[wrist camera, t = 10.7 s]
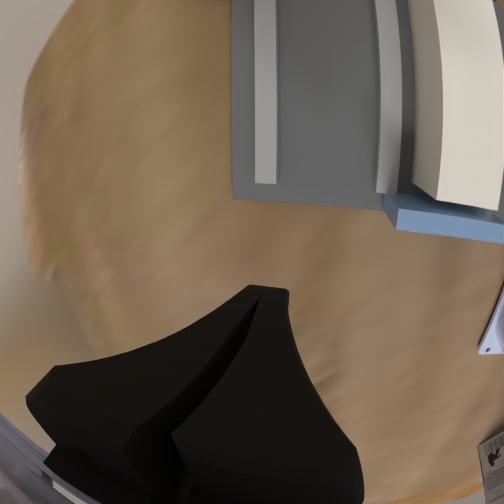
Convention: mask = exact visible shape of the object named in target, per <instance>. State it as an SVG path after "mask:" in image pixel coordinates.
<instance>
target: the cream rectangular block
mask: <svg viewBox="0 0 504 504" xmlns="http://www.w3.org/2000/svg"><path fill="white" fill-rule="evenodd" d="M407 2H408V8H409V15H410V23H411V32H412V42H413V54H414V71H415V137H414V155H413V168H412V179H411V182H412V183H413V184H415V185H416V186H418V187H419V188H421V189H422V190H423V191H425V192H426V193H427V194H429V195H430V196H432V197H433V198H434V199H436V200H439V201H446V202H452V203H458V204H464V205H470V206H475V207H481V208H486V209H491V210H497V211H498V205H499V199H500V193H501V186H502V178H503V169H504V63H503V54H502V47H501V41H500V35H499V29H498V24H497V19H496V14H495V10H494V6H493V2H492V0H407Z"/></svg>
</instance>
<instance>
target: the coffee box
mask: <svg viewBox="0 0 504 504" xmlns="http://www.w3.org/2000/svg"><path fill="white" fill-rule="evenodd" d="M477 449H478V454H479V459H480V465H481V471H482V477H483V485H484V493H485V502H486V504H504V431H502V432H501V433H499V434H497V435H496V436H494V437H492V438H491V439H489V440H487V441H485V442H484V443H482V444H480V445H478V446H477Z"/></svg>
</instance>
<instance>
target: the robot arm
mask: <svg viewBox="0 0 504 504" xmlns="http://www.w3.org/2000/svg"><path fill="white" fill-rule="evenodd" d="M288 305H289V291H288V290H287V289H283V288H275V287H266V286H258V285H248V286H247V287H245V288H244V289H243V290H241V291H240V292H239V293H237V294H236V295H235V296H233V297H232V298H231V299H229V300H228V301H227V302H225V303H224V304H222V305H221V306H220V307H218V308H217V309H215V310H214V311H212V312H211V313H209V314H207V315H206V316H204V317H203V318H201V319H199V320H198V321H196V322H194V323H193V324H191V325H190V326H188V327H186V328H184V329H182V330H180V331H178V332H176V333H174V334H172V335H170V336H168V337H166V338H164V339H161V340H159V341H156V342H154V343H151V344H148V345H146V346H143V347H140V348H137V349H135V350H132V351H129V352H126V353H122V354H118V355H115V356H111V357H107V358H103V359H98V360H93V361H88V362H81V363H74V364H67V365H58V366H54V367H53V368H52V369H51V370H50V371H49V372H48V373H47V374H46V375H45V376H44V377H43V379H42V380H41V381H40V382H39V383H38V384H37V385H36V386H35V387H34V388H33V389H32V390H31V391H30V392H29V393H28V394H27V395H26V396H25V397H26V405H27V407H28V409H29V411H30V412H31V414H32V415H33V416H34V418H35V419H36V420H37V422H38V423H39V424H40V426H41V427H42V428H43V429H44V431H45V432H46V433H47V434H48V435H49V437H50V438H51V439H52V440H53V441H54V442H55V444H56V446H55V447H54V449H53V450H52V451H51V452H50V454H49V453H47V452H46V451H45V450H43V449H42V448H41V447H39V446H38V445H37V444H36V443H34V442H33V441H32V440H31V439H29V438H28V437H27V436H26V435H25V434H23V433H22V432H21V431H20V430H19V429H18V428H16V427H15V426H14V425H13V424H12V423H11V422H10V421H9V420H7V419H6V418H5V417H4V416H3V415H2V414H1V413H0V504H74V503H73V502H71V501H70V500H69V499H67V498H66V497H65V496H63V495H62V494H61V493H59V492H58V491H57V490H55V489H54V488H53V482H52V480H53V481H55V482H56V483H57V484H59V485H60V486H61V487H63V488H64V489H66V490H67V491H69V492H70V493H72V494H73V495H75V496H76V497H78V498H79V499H81V500H82V501H84V502H85V503H87V504H362V503H363V501H364V481H363V473H362V468H361V464H360V460H359V456H358V452H357V449H356V447H355V446H354V445H353V443H352V442H351V441H350V440H349V439H348V437H347V436H346V435H345V434H344V432H343V431H342V430H341V428H340V427H339V426H338V424H337V423H336V422H335V420H334V419H333V417H332V416H331V414H330V413H329V411H328V410H327V408H326V407H325V405H324V403H323V402H322V400H321V398H320V396H319V395H318V393H317V391H316V389H315V388H314V386H313V384H312V382H311V380H310V378H309V376H308V374H307V372H306V370H305V367H304V365H303V363H302V360H301V358H300V355H299V352H298V350H297V347H296V343H295V340H294V337H293V333H292V329H291V325H290V320H289V314H288ZM478 352H479V354H501V353H503V354H504V287H503V290H502V292H501V295H500V298H499V301H498V303H497V306H496V308H495V311H494V313H493V316H492V318H491V320H490V323H489V325H488V327H487V330H486V332H485V334H484V336H483V338H482V340H481V342H480V345H479V347H478ZM51 479H52V480H51Z"/></svg>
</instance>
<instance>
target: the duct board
mask: <svg viewBox="0 0 504 504" xmlns="http://www.w3.org/2000/svg"><path fill="white" fill-rule="evenodd" d="M492 2H493V6H494V10H495V14H496V19H497V24H498V29H499V35H500V41H501V47H502V54H503V63H504V17H503V12H502V8H501V4H500V3H498V2H496V1H494V0H492ZM231 117H232V182H233V199H245V200H263V201H278V202H293V203H306V204H318V205H330V206H341V207H351V208H361V209H371V210H380V211H385V213H386V214H387V216H388V218H389V219H390V221H391V223H392V224H393V226H394V227H395V229H396V230H404V231H413V232H421V233H429V234H437V235H445V236H452V237H459V238H467V239H474V240H481V241H487V242H494V243H501V244H504V221H503V218H504V169H503V178H502V186H501V193H500V199H499V205H498V211H497V210H491V209H486V208H481V207H475V206H470V205H464V204H458V203H452V202H446V201H439V200H436V199H434V198H433V197H432V196H430V195H429V194H427V193H426V192H425V191H423V190H422V189H421V188H419V187H418V186H416V185H415V184H413V183H412V182H411V179H412V168H413V155H414V137H415V71H414V54H413V42H412V32H411V23H410V15H409V8H408V2H407V0H232V4H231Z"/></svg>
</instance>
